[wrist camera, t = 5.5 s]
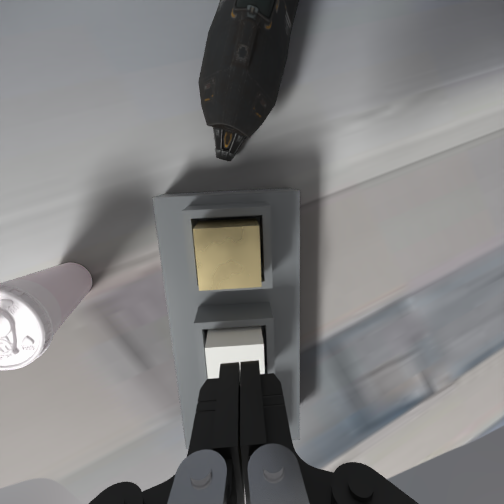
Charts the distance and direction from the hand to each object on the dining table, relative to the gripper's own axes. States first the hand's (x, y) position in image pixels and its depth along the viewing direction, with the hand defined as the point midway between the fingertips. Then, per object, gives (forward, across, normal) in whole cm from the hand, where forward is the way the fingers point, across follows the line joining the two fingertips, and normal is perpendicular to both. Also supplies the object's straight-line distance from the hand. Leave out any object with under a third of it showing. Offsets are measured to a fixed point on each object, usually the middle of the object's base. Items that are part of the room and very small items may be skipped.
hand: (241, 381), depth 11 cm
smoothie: (+18, +17, +2) cm, 25 cm away
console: (+18, +1, +7) cm, 20 cm away
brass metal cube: (+13, +1, -2) cm, 13 cm away
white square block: (+13, +1, +7) cm, 14 cm away
